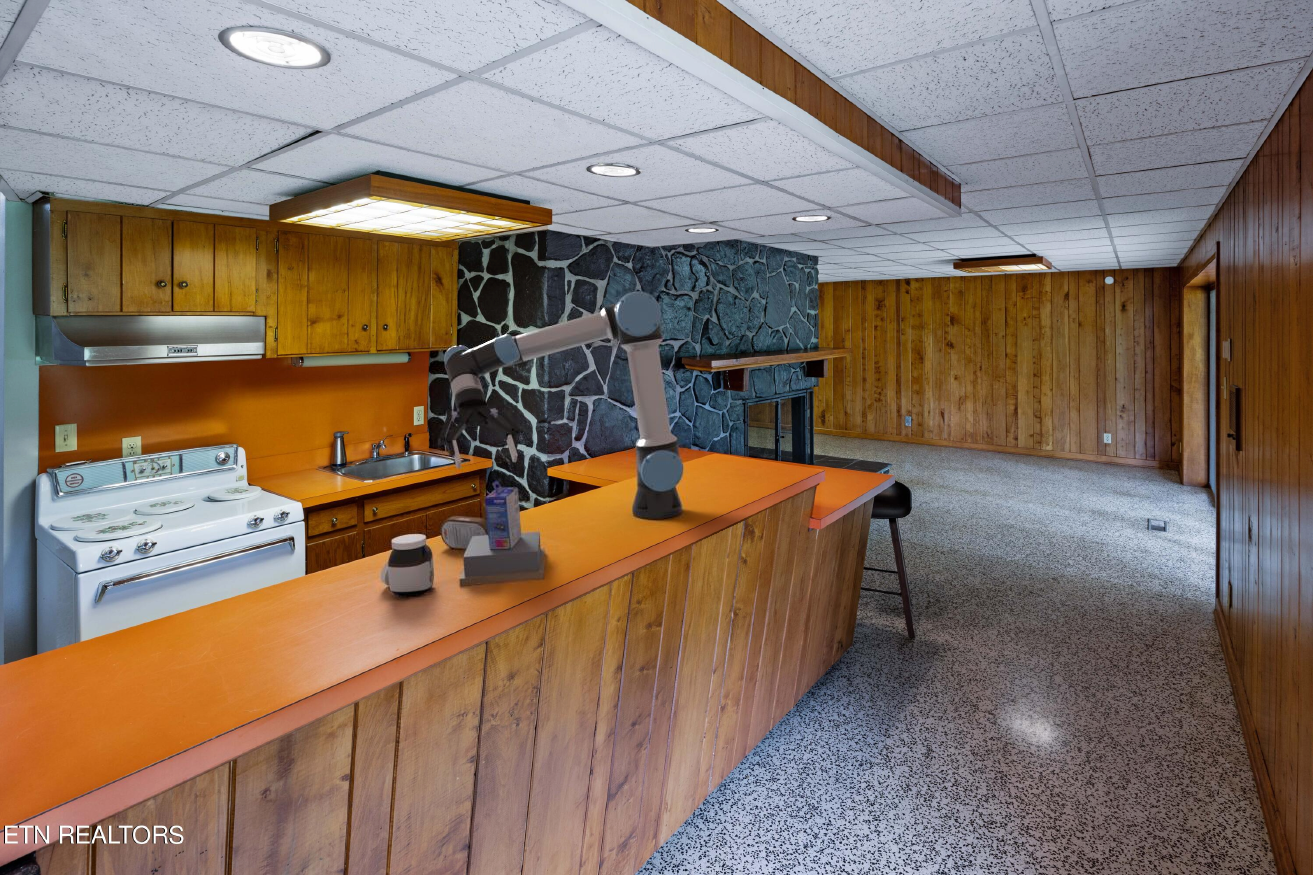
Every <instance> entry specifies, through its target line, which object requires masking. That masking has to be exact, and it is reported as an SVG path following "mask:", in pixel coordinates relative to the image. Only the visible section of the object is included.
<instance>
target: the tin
mask: <svg viewBox="0 0 1313 875" xmlns="http://www.w3.org/2000/svg"><path fill="white" fill-rule="evenodd" d="M439 532H440V536H441V540H442V542H443V543H444V545H446V546H447V547H448V548H450V549H452V548H453V550H459V549H463V550H462V551H466V550H467V547H468V545H469V543H470V541H471V538H472V536H484V535H488V528H487V519H484V518H482V517H475V516H474V517H472V516H463V515H461V516H460V515H453V516H450V517H449V518H447V519H446V520H444V521H443V522H442V523H441V525H440V530H439Z"/></svg>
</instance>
